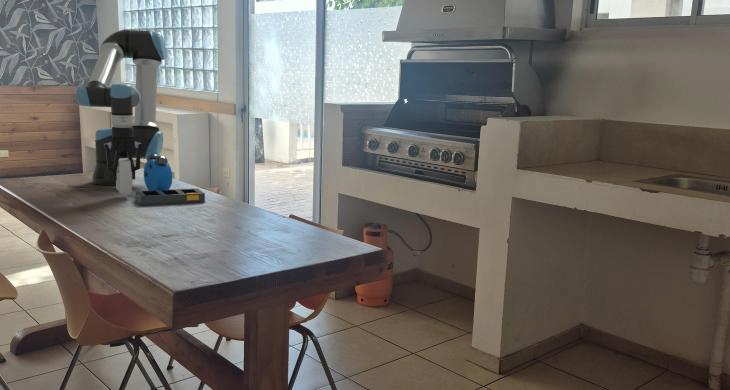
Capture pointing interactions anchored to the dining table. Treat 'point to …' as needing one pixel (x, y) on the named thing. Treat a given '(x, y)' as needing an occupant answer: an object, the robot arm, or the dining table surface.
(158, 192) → the rack
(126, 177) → the pale grey rectangular block
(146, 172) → the alarm clock
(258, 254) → the dining table surface
